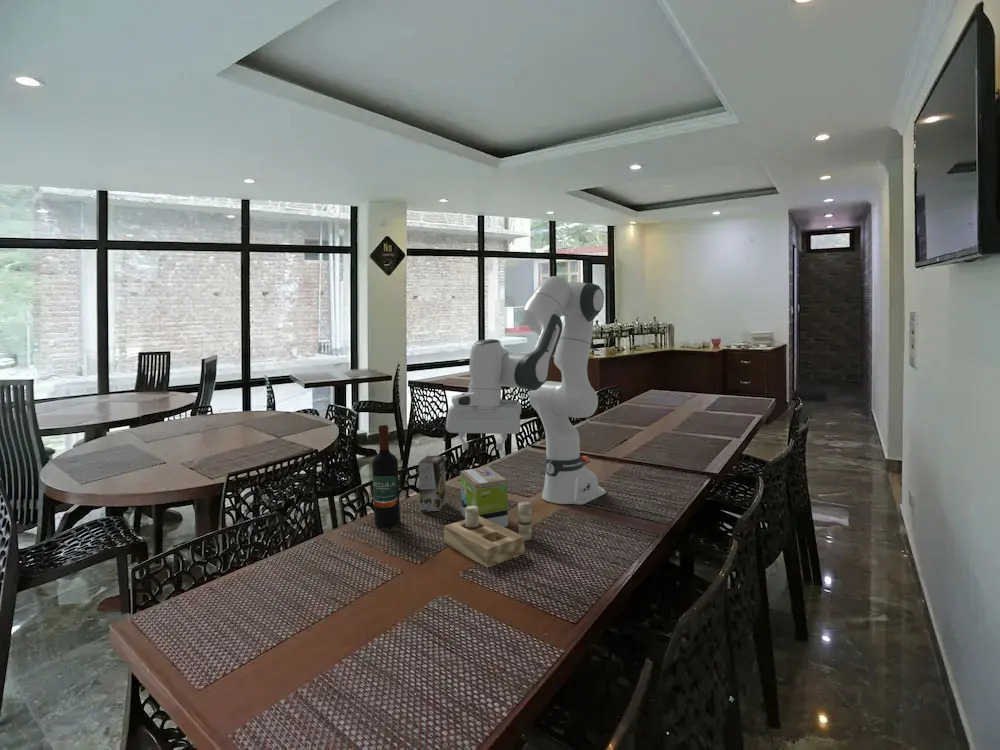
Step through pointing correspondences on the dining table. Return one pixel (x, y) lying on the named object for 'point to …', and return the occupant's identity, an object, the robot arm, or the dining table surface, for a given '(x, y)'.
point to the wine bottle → (385, 484)
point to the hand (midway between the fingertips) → (482, 449)
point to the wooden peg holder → (483, 539)
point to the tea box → (485, 494)
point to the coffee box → (432, 483)
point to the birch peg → (524, 520)
